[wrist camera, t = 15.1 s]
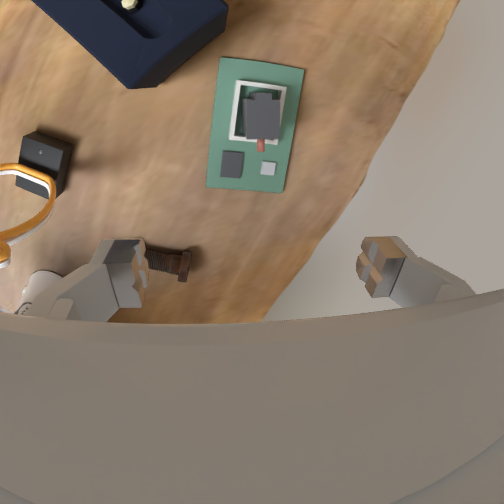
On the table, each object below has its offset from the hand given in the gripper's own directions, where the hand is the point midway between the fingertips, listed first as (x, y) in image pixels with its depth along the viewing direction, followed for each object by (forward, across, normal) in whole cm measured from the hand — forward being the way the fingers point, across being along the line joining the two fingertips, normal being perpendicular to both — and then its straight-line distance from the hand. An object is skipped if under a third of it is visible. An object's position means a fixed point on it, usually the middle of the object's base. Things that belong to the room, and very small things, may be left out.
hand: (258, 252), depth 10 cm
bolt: (+35, +13, +22) cm, 43 cm away
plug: (+33, -4, -2) cm, 33 cm away
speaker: (+34, +13, -18) cm, 41 cm away
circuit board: (+34, -4, 0) cm, 34 cm away
